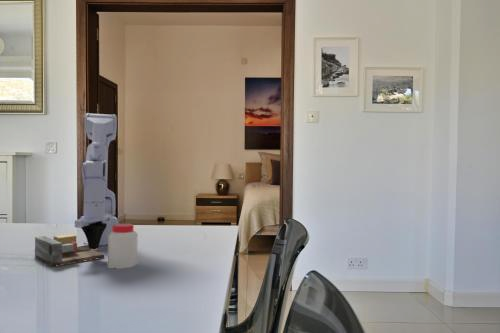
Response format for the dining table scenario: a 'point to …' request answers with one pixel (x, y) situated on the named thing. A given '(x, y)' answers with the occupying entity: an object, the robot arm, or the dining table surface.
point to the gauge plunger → (69, 247)
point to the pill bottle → (122, 246)
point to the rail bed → (53, 254)
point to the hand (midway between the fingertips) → (93, 248)
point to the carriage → (65, 238)
